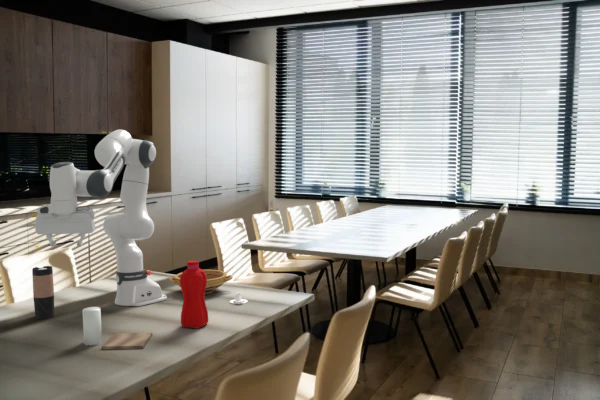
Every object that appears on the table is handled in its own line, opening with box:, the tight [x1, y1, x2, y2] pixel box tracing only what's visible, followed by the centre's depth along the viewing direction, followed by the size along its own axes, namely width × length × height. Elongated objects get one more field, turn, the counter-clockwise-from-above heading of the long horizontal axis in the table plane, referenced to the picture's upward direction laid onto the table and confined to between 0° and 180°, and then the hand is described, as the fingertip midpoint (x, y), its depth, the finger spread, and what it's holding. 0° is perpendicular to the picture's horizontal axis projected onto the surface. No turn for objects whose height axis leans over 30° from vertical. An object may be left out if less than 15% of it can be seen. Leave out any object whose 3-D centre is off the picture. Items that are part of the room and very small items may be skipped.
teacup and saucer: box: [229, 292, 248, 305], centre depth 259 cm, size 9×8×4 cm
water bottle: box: [179, 260, 209, 329], centre depth 226 cm, size 9×11×25 cm
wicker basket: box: [168, 269, 233, 295], centre depth 278 cm, size 30×24×8 cm
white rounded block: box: [81, 306, 103, 347], centre depth 207 cm, size 6×6×12 cm
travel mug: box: [31, 265, 55, 320], centre depth 240 cm, size 8×8×20 cm
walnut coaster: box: [101, 332, 153, 350], centre depth 208 cm, size 14×14×1 cm
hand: (66, 246), depth 212 cm, fingers open, 8 cm apart
